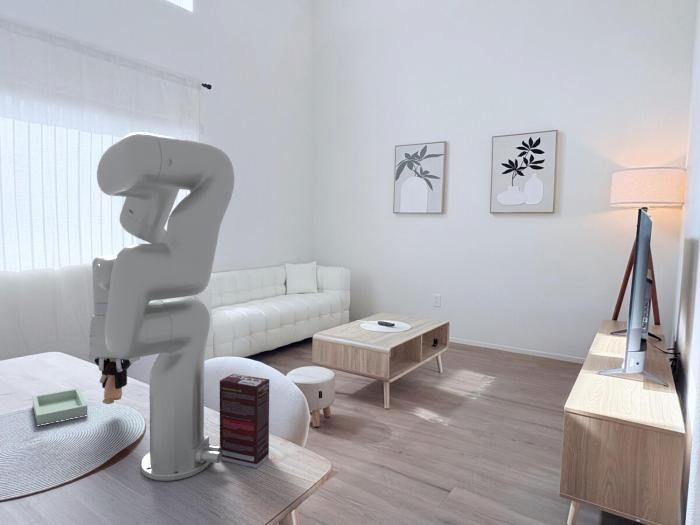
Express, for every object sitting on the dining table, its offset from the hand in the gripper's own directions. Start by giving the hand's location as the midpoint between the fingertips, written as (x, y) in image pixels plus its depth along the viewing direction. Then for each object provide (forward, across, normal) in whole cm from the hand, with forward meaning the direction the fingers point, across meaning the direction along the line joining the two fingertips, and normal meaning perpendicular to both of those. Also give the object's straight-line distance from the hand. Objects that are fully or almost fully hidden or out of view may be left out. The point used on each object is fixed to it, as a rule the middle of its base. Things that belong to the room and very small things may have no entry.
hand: (114, 386), depth 102 cm
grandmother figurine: (+3, +1, 0) cm, 4 cm away
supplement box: (+9, -37, +11) cm, 40 cm away
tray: (+7, +14, +1) cm, 16 cm away
